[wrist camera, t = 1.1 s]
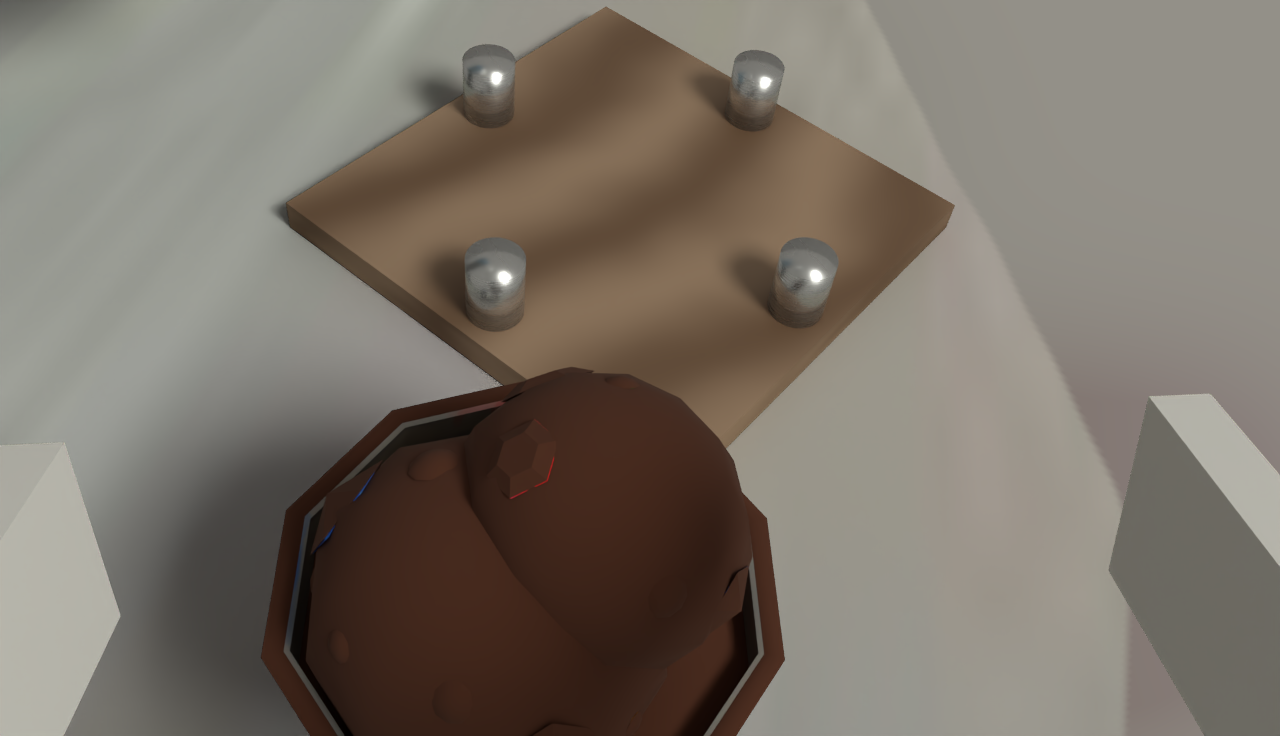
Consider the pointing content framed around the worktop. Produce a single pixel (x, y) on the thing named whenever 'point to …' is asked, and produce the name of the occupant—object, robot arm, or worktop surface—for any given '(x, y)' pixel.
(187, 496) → the worktop surface
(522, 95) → the stub board
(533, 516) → the ice cream bowl
